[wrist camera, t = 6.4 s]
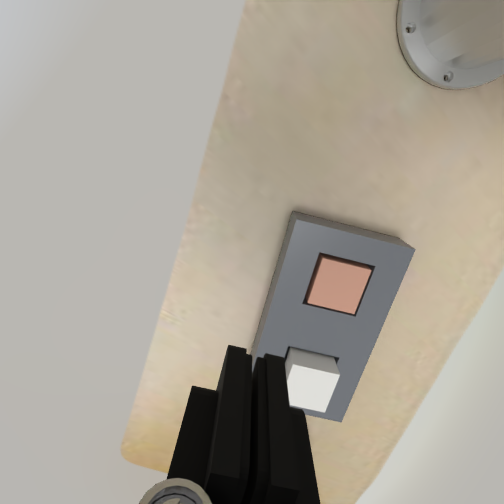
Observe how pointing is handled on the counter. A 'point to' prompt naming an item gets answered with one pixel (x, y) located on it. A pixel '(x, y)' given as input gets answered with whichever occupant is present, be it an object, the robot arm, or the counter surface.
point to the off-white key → (310, 379)
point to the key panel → (326, 319)
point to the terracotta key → (337, 283)
